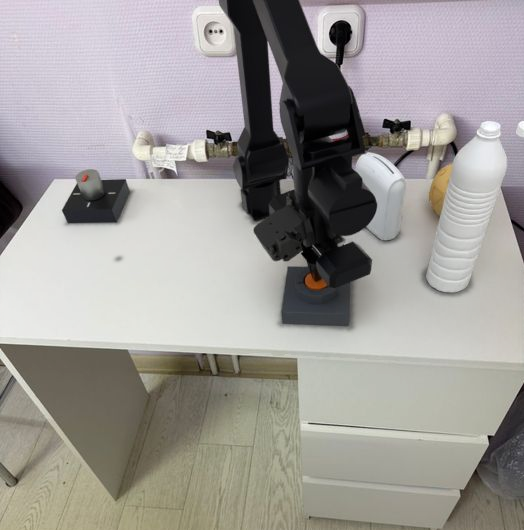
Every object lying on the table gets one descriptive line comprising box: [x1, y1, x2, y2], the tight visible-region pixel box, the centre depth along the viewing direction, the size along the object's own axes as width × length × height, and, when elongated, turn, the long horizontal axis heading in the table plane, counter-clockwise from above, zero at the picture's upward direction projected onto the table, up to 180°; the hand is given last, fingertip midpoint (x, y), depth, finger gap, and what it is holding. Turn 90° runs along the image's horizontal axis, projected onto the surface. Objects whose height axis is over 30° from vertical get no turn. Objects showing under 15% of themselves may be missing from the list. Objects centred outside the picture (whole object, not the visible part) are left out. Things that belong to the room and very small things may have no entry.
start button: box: [305, 273, 328, 290], centre depth 75 cm, size 4×4×2 cm
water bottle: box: [425, 120, 524, 294], centre depth 68 cm, size 9×6×25 cm
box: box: [280, 265, 351, 327], centre depth 76 cm, size 10×10×4 cm
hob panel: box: [61, 178, 131, 224], centre depth 97 cm, size 10×10×3 cm
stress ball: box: [427, 162, 453, 217], centre depth 84 cm, size 10×10×10 cm
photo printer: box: [354, 151, 407, 241], centre depth 83 cm, size 10×4×12 cm, turn 26°
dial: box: [75, 168, 105, 201], centre depth 94 cm, size 4×4×4 cm
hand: (316, 279), depth 74 cm, fingers closed, pressing on start button
